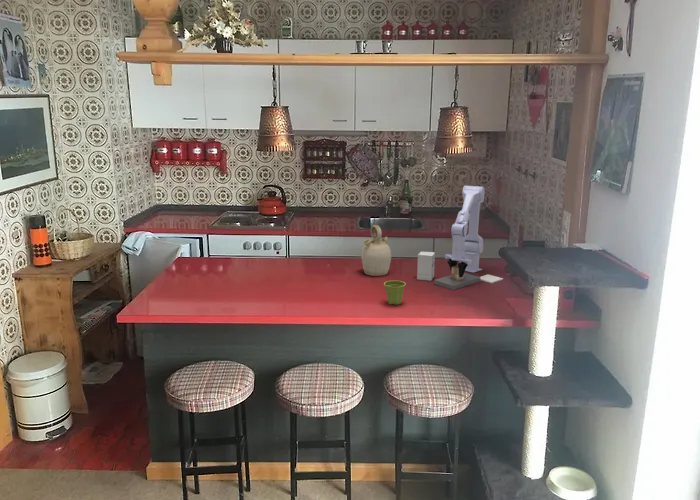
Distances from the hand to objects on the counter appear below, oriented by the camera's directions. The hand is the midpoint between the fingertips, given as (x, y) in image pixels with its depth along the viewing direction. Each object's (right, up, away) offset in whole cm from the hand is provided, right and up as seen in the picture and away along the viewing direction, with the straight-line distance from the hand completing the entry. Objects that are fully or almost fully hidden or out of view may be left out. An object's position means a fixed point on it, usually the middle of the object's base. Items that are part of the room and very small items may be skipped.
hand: (457, 275), depth 282 cm
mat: (+17, -2, +5) cm, 18 cm away
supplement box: (-14, -2, +8) cm, 16 cm away
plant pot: (-32, -11, -26) cm, 43 cm away
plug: (0, -3, +1) cm, 3 cm away
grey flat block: (0, -3, +1) cm, 3 cm away
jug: (-38, +1, +18) cm, 42 cm away
